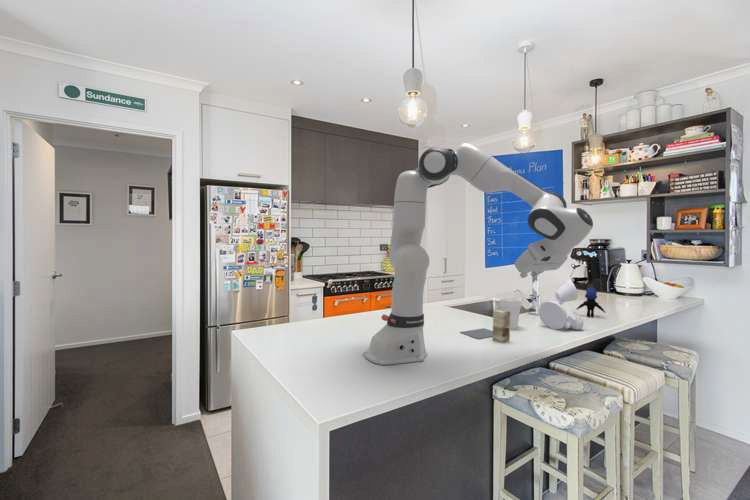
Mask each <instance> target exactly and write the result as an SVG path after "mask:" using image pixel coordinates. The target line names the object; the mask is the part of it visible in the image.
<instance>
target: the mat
mask: <svg viewBox="0 0 750 500" xmlns="http://www.w3.org/2000/svg"><path fill="white" fill-rule="evenodd" d="M459 334H461V335H462V334H463V335H466V336H468V337H470V338H473V339H476V340H482V339H487V338H493V330H490V329H487V328H484V327H483V328H477V329H470V330H463V331H459Z"/></svg>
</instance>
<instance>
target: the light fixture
mask: <svg viewBox="0 0 750 500" xmlns="http://www.w3.org/2000/svg"><path fill="white" fill-rule="evenodd" d="M554 296H555V300H556V301H554V300H549V301H544V302H542V303H541V304H540V305H539V308H538V315H539V316H538V317H539V319H540V320H541V322H542V323H543V324H544V325H545V326H546V327H548V328H550V329H553V330H560V329H562V328H564V329H565V330H569V329H572V330H574V331H577V330H578V331H579V330H581V329H582V328H583V326H584V321H583V320H584V319H582V317H581V316H579V313H578V312H577V311H573V312H572V313H570V314H569V315H568V314H567V311H566V309H565V308H564V307H563V306H562V305H563V304H564V303H567V302H572V301H576V300H577V299H578V290H577V287H576V286H575V284H574V282H573V281H572V280H571V279H568V280H567V281H566V282H564V283H563V284H562V285H561V286H560V287H559V288H558V289H556V291H555V293H554Z"/></svg>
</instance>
